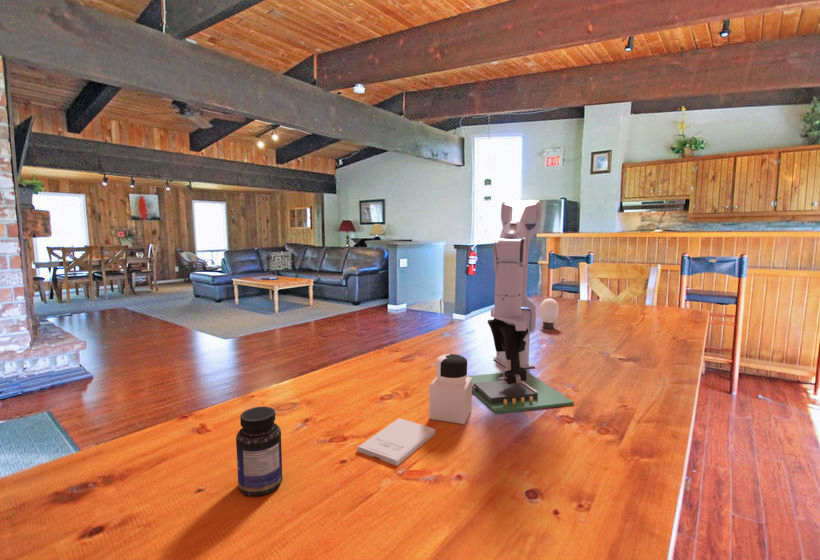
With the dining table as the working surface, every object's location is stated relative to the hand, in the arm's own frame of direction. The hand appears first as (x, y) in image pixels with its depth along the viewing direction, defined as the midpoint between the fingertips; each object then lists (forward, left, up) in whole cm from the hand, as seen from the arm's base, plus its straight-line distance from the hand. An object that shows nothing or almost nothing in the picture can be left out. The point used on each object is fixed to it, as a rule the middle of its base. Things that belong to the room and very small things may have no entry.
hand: (506, 355), depth 94 cm
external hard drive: (+14, -28, -10) cm, 33 cm away
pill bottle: (+21, -50, -10) cm, 55 cm away
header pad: (0, 0, -9) cm, 9 cm away
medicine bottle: (+6, -15, -10) cm, 19 cm away
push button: (0, +2, -6) cm, 7 cm away
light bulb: (-54, +46, -10) cm, 72 cm away
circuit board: (-2, +3, -9) cm, 10 cm away
